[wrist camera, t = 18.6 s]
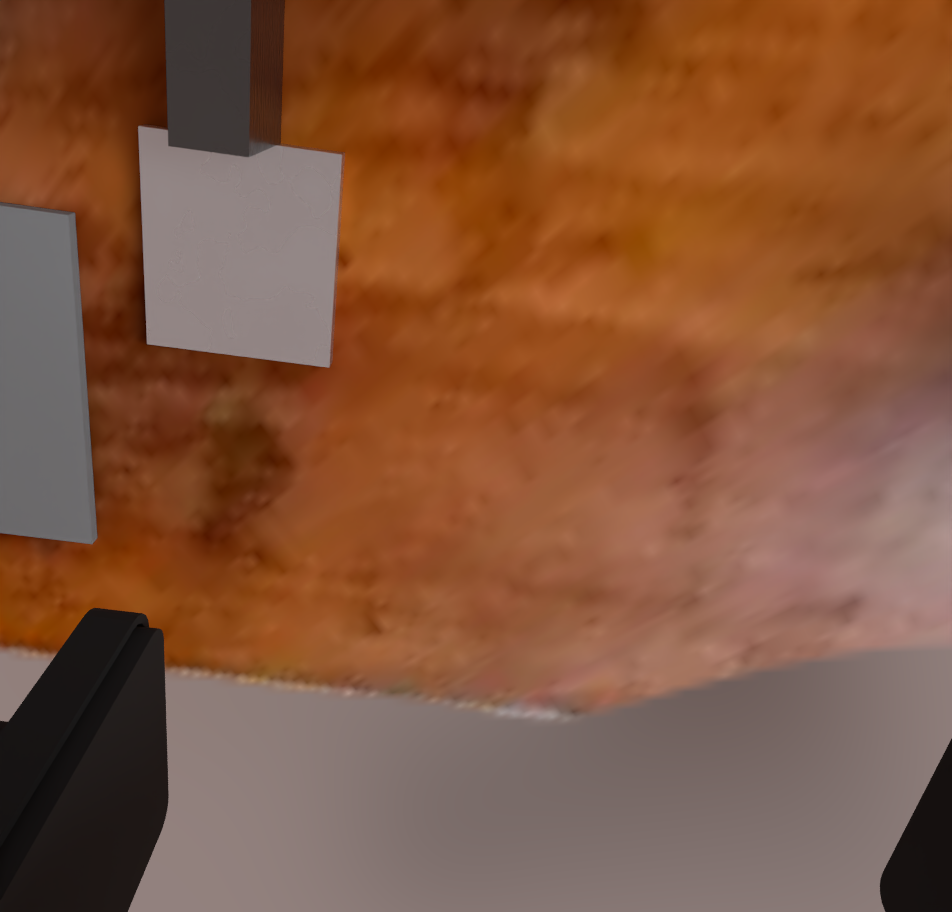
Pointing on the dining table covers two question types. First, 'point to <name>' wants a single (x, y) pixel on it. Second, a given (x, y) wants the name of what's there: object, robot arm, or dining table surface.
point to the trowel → (236, 196)
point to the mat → (43, 380)
